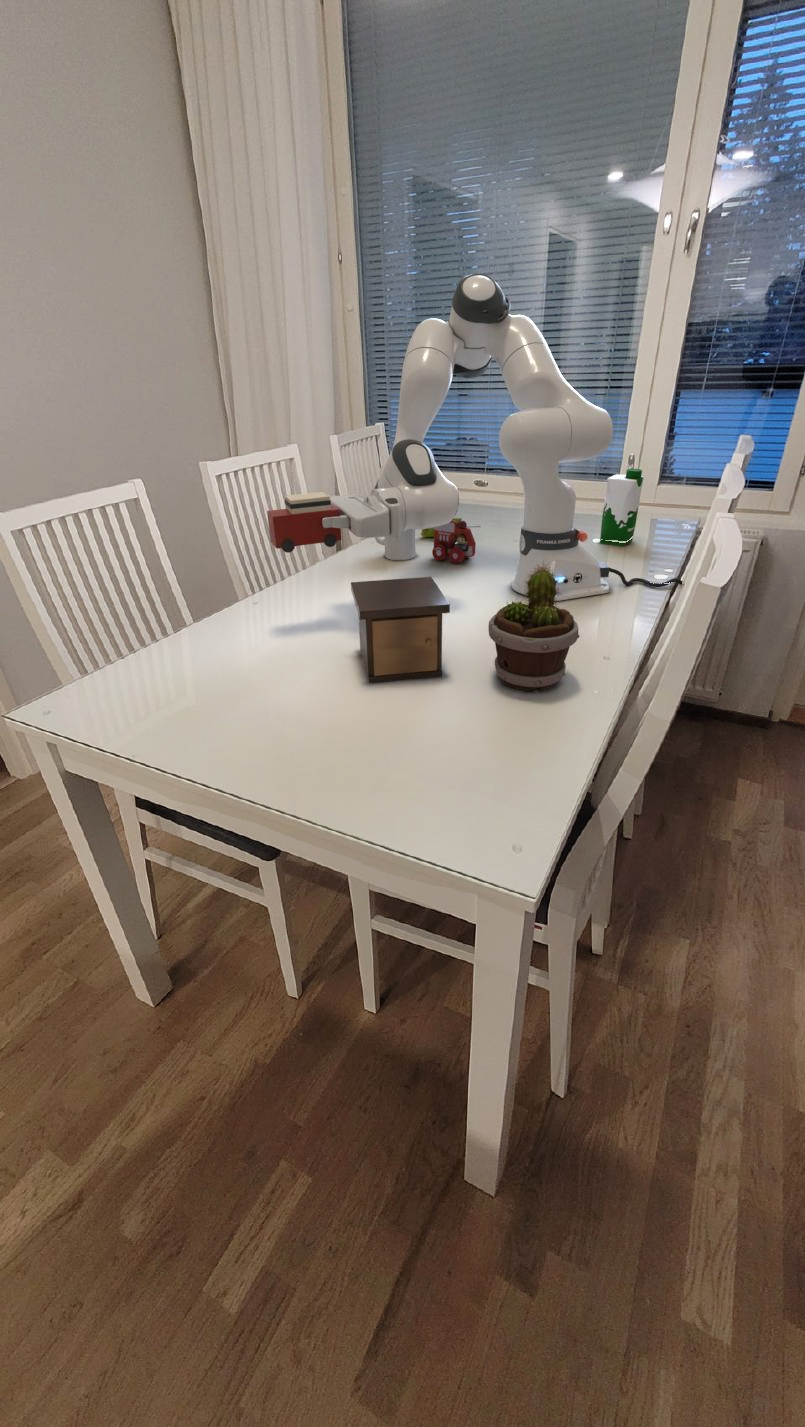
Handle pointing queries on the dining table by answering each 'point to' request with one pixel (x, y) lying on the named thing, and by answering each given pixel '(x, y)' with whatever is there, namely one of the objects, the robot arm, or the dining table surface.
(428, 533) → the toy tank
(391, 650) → the cabinet
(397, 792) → the dining table surface
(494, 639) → the flowerpot
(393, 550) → the mug
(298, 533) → the car
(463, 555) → the toy fire truck
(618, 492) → the milk carton
